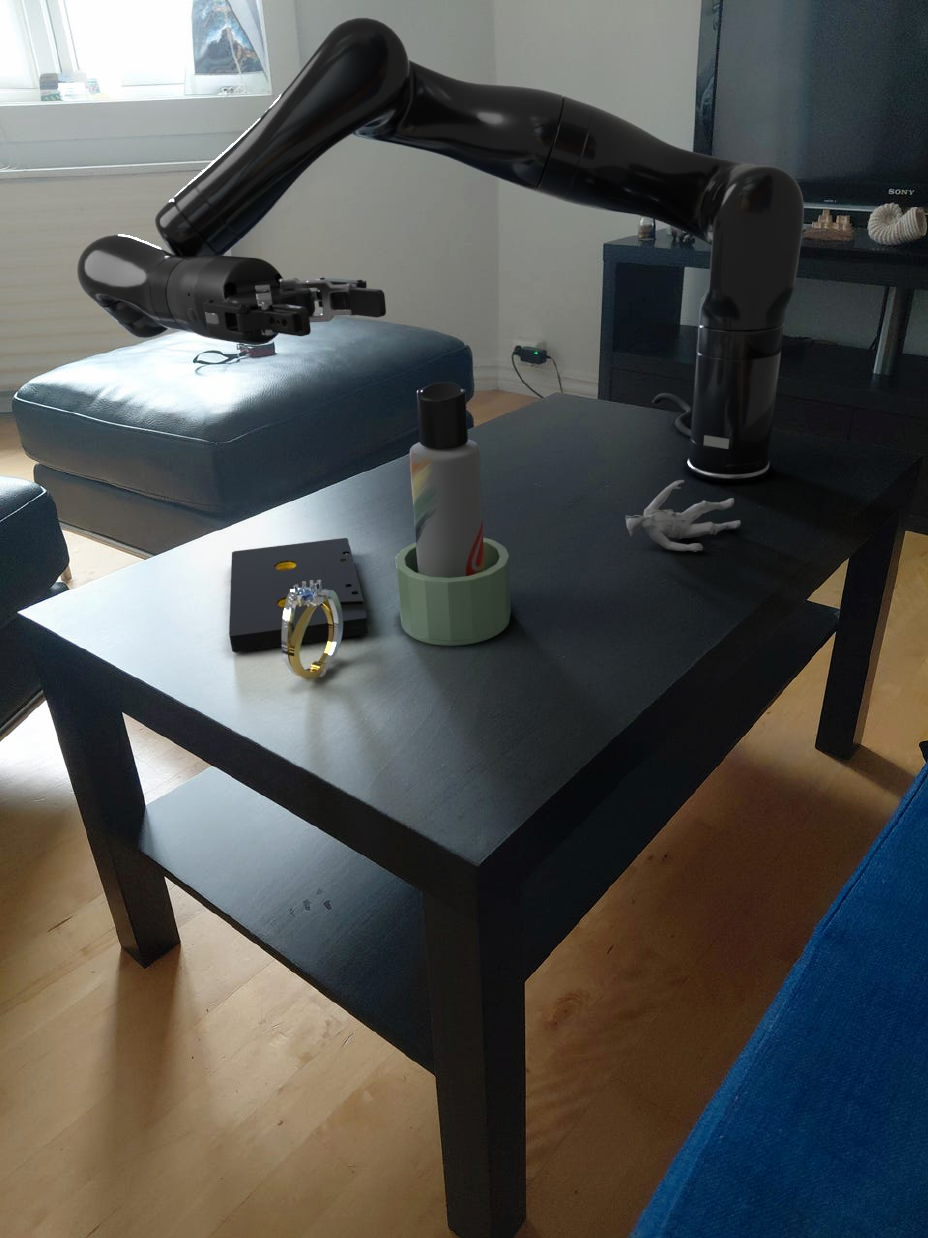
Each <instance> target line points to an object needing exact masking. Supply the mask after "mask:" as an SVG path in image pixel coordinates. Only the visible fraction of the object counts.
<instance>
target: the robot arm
mask: <svg viewBox="0 0 928 1238" xmlns="http://www.w3.org/2000/svg"><path fill="white" fill-rule="evenodd" d="M351 135H352V136H355V137H358V138H362V139H368V140H372V141H377V142H383V143H388V144H393V145H399V146H403V147H408V148H412V149H416V150H421V151H425V152H429V153H433V154H437V155H439V156H443V157H447V158H450V159H452V160H455V161H456V162H459V163H461V164H463V165H466V166H469V167H471V168H472V169H475V170H478V171H480V172H482V173H485V174H487V175H490V176H492V177H496V178H498V179H500V180H503V181H505V182H508V183H511V184H514V185H516V186H519V187H521V188H524V189H526V190H529V191H532V192H536V193H539V194H540V195H541V194H542V195H545V196H548V197H551V198H553V199H557V200H560V201H562V202H563V201H564V202H566V203H569V204H574V205H579V206H582V207H586V208H591V209H596V210H601V211H608V212H615V213H623V214H629V215H636V216H641V217H645V218H649V219H653V220H655V221H657V222H662V223H664V224H666V225H669V226H670V227H673V228H676V229H677V230H680V231H682V232H684V233H687V234H689V235H690V236H693V237H695V238H697V239H699V240H701V241H703V242H705V243H707V244H709V245H710V246H711V252H710V263H709V275H708V281H707V286H706V290H705V292H704V294H703V296H702V297H701V299H700V301H699V310H698V323H697V337H696V355H695V366H694V369H695V370H694V383H693V396H692V405H690V404H689V403H688V402H687V401H686V400H684V399H682V398H681V397H680V396H678V395H675V394H673V393H669V392H662V393H658V394H657V395H656V396H655V397H654V398H653V400H652V401H651V402H652V403H653V404H659V403H660V402H661V401H663V400H664V401H670V402H672V403H674V404H676V405H677V406H678V407H680V408H681V409H682V410H684V411H685V412H684V413H682V414H681V415H679V416H678V417H677V418H676V419H675V421H674V422H675V423H674V424H675V427H676V428H677V430H678V431H679V432H681V434H683V435H685V436H686V437H687V438H690V439H689V452H688V453H689V455H688V459H687V468H686V469H687V471H688V473H689V474H691V475H692V476H694V477H695V478H699V479H702V480H704V481H708V482H709V481H710V482H714V483H724V484H739V483H741V484H742V483H749V482H754V481H758V480H761V479H764V478H765V477H767V475H768V474H769V470H770V453H771V444H772V437H773V428H774V418H775V410H776V400H777V392H778V383H779V373H780V365H781V358H782V357H781V356H782V345H783V338H784V328H785V319H786V312H787V308H788V305H789V303H790V302H791V299H792V296H793V293H794V291H795V285H796V280H797V279H796V278H797V273H798V266H799V259H800V252H801V245H802V238H803V232H804V231H803V230H804V219H805V205H804V196H803V192H802V190H801V187H800V185H799V184H798V182H797V180H796V179H795V178H794V177H793V176H792V175H791V174H790V173H789V172H787V171H786V170H784V169H782V168H779V167H777V166H775V165H774V166H773V165H768V164H763V163H756V162H745V161H736V160H731V159H730V160H729V159H725V158H721V157H717V156H712V155H708V154H704V153H699V152H695V151H691V150H687V149H684V148H681V147H678V146H675V145H673V144H670V143H668V142H667V141H664V140H662V139H660V138H658V137H657V136H655V135H653V134H652V133H650V132H648V131H646V130H645V129H643V128H641V127H639V126H637V125H635V124H633V122H630V121H628V120H626V119H624V118H621V117H620V116H617V115H615V114H613V113H612V112H609V111H607V110H604V109H601V108H599V107H597V106H594V105H591V104H589V103H586V102H583V101H580V100H577V99H574V98H571V97H568V96H565V95H562V94H559V93H556V92H552V91H548V90H543V89H539V88H533V87H525V86H524V87H523V86H513V85H502V84H501V85H500V84H499V85H498V84H484V83H475V82H469V81H464V80H460V79H457V78H454V77H451V76H447V75H445V74H443V73H441V72H439V71H438V72H437V71H436V70H433V69H430V68H428V67H425V66H423V65H421V64H418V63H417V62H415V61H413V60H410V59H409V56H408V52H407V50H406V47H405V45H404V42H402V40H401V38H400V37H399V35H397V33H396V32H395V31H394V30H393V28H391V27H389V26H388V25H386V24H385V23H384V22H382V21H380V20H378V19H375V18H369V17H356V18H351V19H348V20H346V21H344V22H341V23H340V24H338V25H336V27H334V28H333V29H332V30H331V31H330V32H329V33H328V35H327V36H326V38H325V39H324V40H323V41H322V43H321V44H320V45H319V47H318V48H317V49H316V50H315V51H314V53H313V54H312V55H311V57H310V59H309V60H307V62H306V63H305V65H304V66H303V67H302V69H301V70H300V71H299V72H298V74H297V75H296V76H295V77H294V79H293V80H292V81H291V83H290V84H288V86H287V87H286V88H285V90H284V91H283V92H282V93H281V94H280V95H279V97H278V98H277V99H276V100H275V101H274V102H273V104H272V105H271V106H270V107H269V108H268V109H267V110H266V111H265V112H264V113H263V114H262V115H261V116H260V117H259V119H257V121H255V123H253V125H252V126H250V128H248V130H246V131H245V132H244V133H243V134H242V135H241V136H240V137H239V138H238V139H237V140H236V141H235V142H234V143H232V144H231V145H230V146H229V147H228V148H227V149H226V150H225V151H224V152H222V154H220V155H219V156H218V157H217V158H216V159H215V160H213V161H212V162H211V163H210V164H209V165H208V166H207V167H206V168H205V169H203V170H202V172H200V173H199V174H198V175H197V176H196V177H194V179H192V180H191V181H190V182H189V183H188V184H187V185H186V186H184V187H183V188H182V189H181V190H180V191H179V192H178V193H176V195H174V197H173V198H172V199H170V200H169V201H168V202H167V203H166V204H164V206H162V207H161V209H160V210H158V212H157V214H156V215H155V217H154V224H155V228H156V231H157V232H158V234H159V236H160V237H161V239H162V241H163V242H164V243H165V246H166V247H167V248H168V250H169V251H170V252H168V251H167V250H165V249H163V248H161V247H159V246H156V245H154V244H151V243H149V242H147V241H144V240H141V239H139V238H137V237H133V236H130V235H125V234H111V235H106V236H102V237H99V238H97V239H96V240H94V241H92V242H91V243H89V244H88V245H87V246H86V247H85V249H84V250H83V251H82V252H81V255H80V256H79V259H78V261H77V262H78V263H77V269H76V271H77V279H78V282H79V285H80V286H81V288H82V289H83V291H84V292H85V294H86V295H87V296H88V297H89V298H90V299H91V300H93V302H95V303H96V304H97V305H99V307H100V308H101V309H102V310H104V311H105V312H106V313H107V314H108V315H109V316H111V317H112V318H113V319H114V320H115V321H116V322H117V323H118V324H119V325H120V326H121V327H123V328H124V329H125V330H126V331H127V332H128V333H130V334H131V335H133V336H134V337H136V338H140V339H152V338H155V337H158V336H161V335H162V334H164V333H166V332H167V331H168V330H174V331H179V332H185V333H191V334H195V335H197V336H201V337H203V338H207V339H212V340H217V341H223V342H229V343H237V344H243V345H248V346H261V345H264V344H267V343H269V342H271V341H273V340H274V339H275V338H277V336H279V334H282V335H288V336H295V337H305V336H309V335H310V334H311V332H312V328H311V323H324V322H325V323H327V322H331V321H332V319H334V317H335V316H350V317H351V316H353V317H355V316H361V317H367V318H368V317H369V318H370V317H371V318H381V317H385V316H386V314H387V307H386V306H387V305H386V296H385V293H384V291H383V289H378V288H377V289H376V288H368V287H367V280H363V279H345V278H330V277H325V276H320V277H318V278H315V279H305V280H300V279H298V278H297V277H287V278H285V277H283V276H282V274H281V273H280V271H279V270H278V269H277V268H276V267H275V266H274V265H273V264H272V263H270V262H268V261H266V260H265V259H261V258H258V257H250V256H249V257H248V256H233V255H227V254H228V252H230V250H232V249H233V248H234V247H235V246H236V245H237V244H239V243H240V242H241V241H242V240H243V239H244V238H245V237H246V236H247V235H249V233H251V232H252V231H253V230H254V229H255V228H256V227H257V226H258V225H259V224H260V223H261V222H262V221H263V219H264V218H266V216H267V215H268V214H269V212H271V210H272V209H273V208H274V207H275V206H276V204H277V203H278V202H279V201H280V200H281V198H282V197H283V196H284V195H285V193H286V192H287V191H288V190H289V189H290V188H291V187H292V185H293V184H294V183H295V182H296V181H297V180H298V179H299V178H300V177H301V175H302V174H303V173H305V172H306V171H307V170H308V168H309V167H311V165H313V164H314V163H315V162H316V161H317V160H318V159H319V158H320V157H322V156H323V155H324V154H325V153H326V152H328V151H329V150H330V149H332V148H333V147H334V146H335V145H337V144H339V143H340V142H342V141H343V140H345V139H347V138H348V137H349V136H351ZM316 302H318V303H317V304H318V307H319V308H322V313H315V312H316ZM689 419H691V428H689V427H687V426H686V425H685V424H684V422H686V421H687V420H689Z"/></svg>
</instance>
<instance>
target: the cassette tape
mask: <svg viewBox="0 0 928 1238" xmlns="http://www.w3.org/2000/svg"><path fill="white" fill-rule="evenodd" d="M230 567H231V568H230V595H229V596H230V599H229V625H228V635H229V642H230V646H231V651H232V652H233V653H240V652H247V651H256V650H262V649H269V648H270V649H271V648H277V647H282V620H283V613H284V608H285V604H286V600H287V596H288V594H289V592H290V591H291V590H292V589H294V585H296V584H298V588H301V587H302V582H306V587H308V588H310V580H313V584H314V583H317V580H322V590H324V589H327V590H333V591H334V592H335V593H336V594H337V596H338V599H339V602H340V605H341V608H342V614H343V632H342V638H341V639H344V638H351V637H357V636H364V635H368V634H369V624H368V623H369V622H368V615H367V611H366V606H365V602H364V598H363V593H362V590H361V589H362V588H361V585H360V581H359V577H358V573H357V568H356V565H355V561H354V557H353V553H352V549H351V545H350V543H349V539H348V538H347V537H340V538H332V539H325V540H315V541H308V542H300V543H292V544H291V543H290V544H282V545H274V546H267V547H258V548H249V549H241V550H233V551H232V552H231V566H230ZM306 609H307V606H306V605H303V606H299V604H298V600H297V603H296V608H295V613H294V620H293V632H294V629H295V627H296V625H297V623H298V621H299V619H300V617H301V616H302V614H303V613H304V611H305V610H306ZM292 635H293V633H292ZM328 637H329V625H328V619H327V616H326V614H325V611H324V610H323V608H322V607H321V606H320V605H318V606H317V607H316V609H315V611H314V613H313V615H312V617H311V619H310V621H309V623H308V625H307V628H306V630H305V633H304V635H303V638H302V642H301V644H305V643H306V644H307V643H313V642H321V641H328Z"/></svg>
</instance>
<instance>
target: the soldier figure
mask: <svg viewBox="0 0 928 1238" xmlns="http://www.w3.org/2000/svg"><path fill="white" fill-rule="evenodd" d="M683 483H685V480H684V479H678V480H675V481H673V482H672V483H671V484H669V485H668V486H667V487H665V488H664V489H663V490H662V491H661V492H660V493H659V494H658V495H657V496H655V498H654V499H653V500H652V501H651V502H650V504H649V505H648V506H647V507H646V508H644V509H643V515H639V514H635V515H632V516H630V515H625V517H624V520H625V526H626V529H627V531H628V533H629V536H630V539H632V538H633V537H634V535H635V534H637V532H639V531H640V529H641V528H642V529H644V531H645V533H647V534H648V536H649V538H650V540H651V541H653V542H655V543H656V544H659V546H661V547H663V548H664V549H666V550H667V551H668V550H669V551H674V552H687V551H689V552H693V553H697V552H698V551H703V549H704V547H703V545H702V543H697V542H695V543H694V542H693V543H690V544H686V543H681V542H680V543H679V542H675V541H671V540H670V539H669V538H671V539H678V540H681V539H692V538H698V537H702V536H705V535H715V536H716V535H717V534H718V532H721V531H723V530H727V531H729V530H737V529H739V528H740V526H741V523H742V522H741V520H740V519H737V520H733V521H727V522H723V523H714V522H712V521H707V522H702V523H693V522H694V521H695V520H697V519H699V517H701V516H702V514H706V513H708V512H712V511H714V510H719V511H725V510H726V509H729V508H732V507H733V505H734V503H735V499H734V497H731V498H728V499H726V500H724V501H720V502H716V501H715V502H711V501H706V500H702V501H701V502H699V503H694V504H693V505H691V506H689V507H688V508H687V509H685V510H684V511H683V512H675V511H674V509H659V508H660V507H661V506H662V505H663V504H664V503H665V502H666V500H667V499H668V498H669V496H670V495H671V493H672V491H673V490H680V489H682V487H679V485H680V484H683Z"/></svg>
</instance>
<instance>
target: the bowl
mask: <svg viewBox="0 0 928 1238" xmlns="http://www.w3.org/2000/svg"><path fill="white" fill-rule="evenodd" d="M483 545H484V572H480V573H477V574H474V575H470V576H464V577H454V578H443V577H429V576H426V575H423V574H419V573H418V563H417V549H416V541H414V542H413V543H411V544H409V545H406V546H405V547H404V548H402V549H401V550H400V551H399V553H398V554H397V555H396V556H395V558H394V561H395V572H396V585H397V593H398V594H397V596H398V606H399V607H398V608H399V616H400V624H401V628H402V630H403V631H404V632H405V633H406V634H407V635H408V636H410V637H411V638H412V639H414V640H417V641H419V642H423V643H426V644H431V645H434V646H447V647H448V646H449V647H450V646H451V647H453V646H454V647H455V646H456V647H457V646H467V645H472V644H473V645H474V644H476V643H481V642H484V641H487V640H488V639H489V640H490V639H492V638H493V637H496V636H498V635H499V634H501V633H502V632H503V631H504V630H505V629H506V628H507V627H508V625H509V623H510V620H511V613H512V607H511V605H512V603H511V600H512V599H511V598H512V597H511V566H510V565H511V562H510V558H511V557H510V555H509V552H508V550H507V548H506V547H505V546H504V545H502V544H501V543H499V542H497V541H496V540H494V539H491V538H488V537H487V538H486V537H483Z"/></svg>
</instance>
